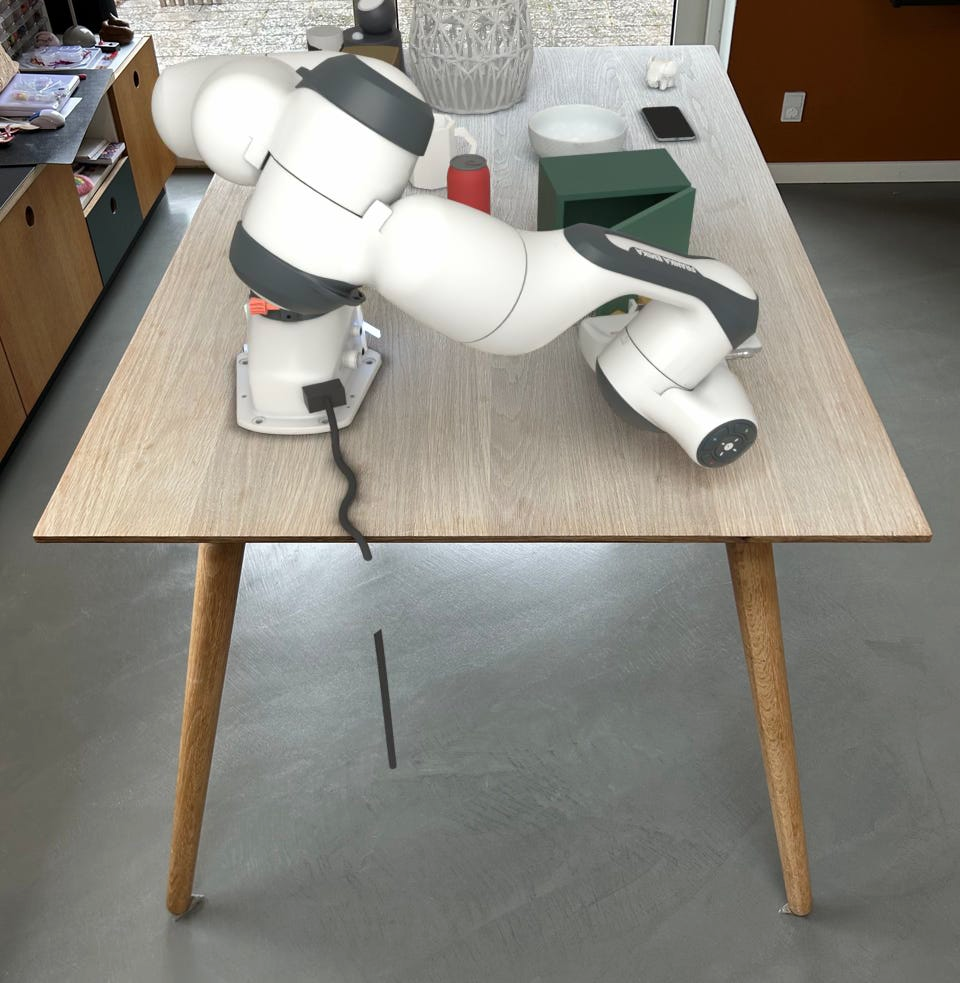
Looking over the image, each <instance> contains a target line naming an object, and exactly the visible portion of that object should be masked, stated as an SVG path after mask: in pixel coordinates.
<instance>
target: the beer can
mask: <svg viewBox="0 0 960 983" xmlns="http://www.w3.org/2000/svg"><path fill="white" fill-rule="evenodd" d="M446 199H449V200H452V201H455V202H458V203H462V204H464V205H467V206H470V207H472V208H475V209H477V210H480V211H482V212H484V213H487V214H489V215H491V172H490V169H489V165H488V161H487V159H486V157H484V156H482V155H480V154H476V153H475V154H467V153H463V154H458V155H456V156H455V157H453V158H452V159H451V160H450V165H449V168H448V172H447V187H446Z"/></svg>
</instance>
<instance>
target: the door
mask: <svg viewBox="0 0 960 983" xmlns="http://www.w3.org/2000/svg"><path fill="white" fill-rule="evenodd" d="M696 193H697V188H695V187H693V186H691V187H688V188H686V189H684V190H683V191H681V192H679V193H677V194H675V195H673V196H671V197H669V198H667V199H665V200H663V201H661V202H660V203H658V204H656V205H654V206H652V207H650V208H648V209H646V210H644V211H642V212H640V213H638V214H636V215H635V216H633V217H631V218H629V219H627V220H625V221H623V222H621V223H619V224H617V225H615V226H613V227H611V228H610V229H611V230H615V231H618V232H621V233H625V234H628V235H631V236H634V237H637V238H640V239H643V240H646V241H649V242H652V243H655V244H658V245H661V246H664V247H667V248H669V249H672V250H675V251H678V252H681V253H685V254H688V255H689V249H690V248H689V247H690V239H691V233H692V224H693V216H694V210H695V202H696ZM639 298H641V299H642V301H643V303H644V306H645V305H646V304H647V303H648V302H649V301H650V300H651V298H647V297H644V296H640V295H636V294H628V295H623V296H620V297H617V298H615V299H612V300H610V301H608V302H607V303H605V304H603V305H601V306H600V307H598V308H596V309H595V310H596V312H595V317H598V316H608V315H618V314H628V312H629V310H628V305H629V299H639Z"/></svg>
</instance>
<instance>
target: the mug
mask: <svg viewBox="0 0 960 983" xmlns="http://www.w3.org/2000/svg"><path fill="white" fill-rule="evenodd" d="M433 116H434V119H435V121H434V127H433V131H432V135H431V138H430V141H429V144H428V147H427V149H426V152H425V154H424V156H419V158H418V160H417V163H416V165H415V168H414V170H413V173H412V175H411V177H410V180H409V183H411V185H412V186H413V187H414V188H419V189H424V190H431V191H433V190H438V189H443V188H447V172H448V168H449V165H450V160H451V159H452V158H453V157H455V156H457V137H463V138H464V139H465V140H466V142H467V143H468V144H469V148H468V151H467V153H466V154H476V152H477V149H478V145H479V140H478V139H477V138H476V137H475V135H474V134H472V132H470V131H469V129H467V128H466V126H459V127H457V126H456V121H455V120H454V119H453V118H452V117H451V115H449V114H445V113H435V112H433Z"/></svg>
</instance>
